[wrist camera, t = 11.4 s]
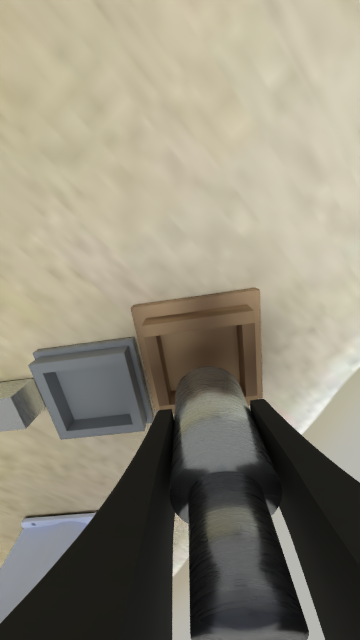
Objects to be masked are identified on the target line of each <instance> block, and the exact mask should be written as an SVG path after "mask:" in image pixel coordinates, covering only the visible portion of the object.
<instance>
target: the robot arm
mask: <svg viewBox="0 0 360 640" xmlns="http://www.w3.org/2000/svg"><path fill="white" fill-rule="evenodd" d="M250 411H251V414H252V416H253V419H254V421H255V423H256V426H257V428H258V431H259V433H260V435H261V438H262V440H263V443H264V445H265V447H266V450H267V452H268V455H269V457H270V459H271V462H272V464H273V466H274V469H275V471H276V474H277V476H278V478H279V481H280V483H281V486H282V500H281V502H280V505H279V507H280V510H281V512H282V515H283V517H284V520H285V522H286V525H287V527H288V530H289V532H290V535H291V538H292V541H293V544H294V546H295V550H296V552H297V555H298V558H299V561H300V564H301V567H302V570H303V573H304V576H305V579H306V582H307V585H308V588H309V591H310V594H311V597H312V600H313V603H314V606H315V609H316V612H317V615H318V618H319V622H320V625H321V628H322V631H323V634H324V637H325V640H360V483H359V482H358V481H357V480H355V479H354V478H353V477H351V476H350V475H349V474H347V473H346V472H345V471H343V470H342V469H341V468H340V467H338V466H337V465H336V464H335V463H333V462H332V461H331V460H330V459H328V458H327V457H326V456H325V455H324V454H323V453H321V452H320V451H319V450H318V449H316V448H315V447H314V446H313V445H312V444H311V443H310V442H308V441H307V440H306V439H305V438H304V437H303V436H302V435H301V434H300V433H298V432H297V431H296V430H295V429H294V428H293V427H292V426H291V425H290V424H289V423H288V422H287V421H286V420H285V419H284V418H283V417H281V416H280V415H279V414H278V413H277V412H276V411H275V410H274V409H273V408H272V407H271V405H270V404H269V403H268V402H267V401H266V400H264V399H257V400H250ZM173 428H174V418H173V413H172V409H165V410H159V411H158V412H157V414H156V416H155V418H154V420H153V423H152V425H151V427H150V429H149V431H148V433H147V435H146V437H145V438H144V440H143V442H142V444H141V446H140V448H139V449H138V451H137V453H136V455H135V456H134V458H133V460H132V461H131V463H130V465H129V466H128V468H127V469H126V471H125V473H124V474H123V476H122V477H121V479H120V480H119V482H118V483H117V485H116V486H115V488H114V489H113V491H112V492H111V494H110V495H109V496H108V498H107V499H106V501H105V502H104V503H103V505H102V506H101V507H100V509H99V510H98V511H97V513H87V514H74V515H61V516H49V517H36V518H25V519H23V521H22V523H21V526H22V527H23V530H22V532H21V534H20V535H19V537H18V539H17V540H16V542H15V544H14V546H13V547H12V549H11V551H10V553H9V554H8V556H7V558H6V559H5V561H4V563H3V565H2V566H1V568H0V640H172V568H173V531H174V518H175V511H174V510H173V508H172V506H171V502H170V479H171V462H172V445H173Z"/></svg>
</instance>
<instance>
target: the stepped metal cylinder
mask: <svg viewBox="0 0 360 640" xmlns="http://www.w3.org/2000/svg"><path fill="white" fill-rule="evenodd" d="M281 500H282V486H281V483H280V481H279V478H278V476H277V474H276V471H275V469H274V466H273V464H272V462H271V459H270V457H269V455H268V452H267V450H266V447H265V445H264V443H263V440H262V438H261V435H260V433H259V431H258V428H257V426H256V423H255V421H254V419H253V416H252V414H251V411H250V409H249V407H248V404H247V402H246V399H245V397H244V395H243V392H242V390H241V388H240V385H239V383H238V381H237V379H236V378H235V377H234V376H233V375H232V374H231V373H230V372H228V371H226V370H224V369H222V368H219V367H213V366H205V367H199V368H196V369H193V370H191V371H190V372H188V373H187V374H185V375H184V376H183V377H182V378H181V380H180V381H179V383H178V385H177V388H176V395H175V412H174V428H173V445H172V462H171V479H170V502H171V506H172V508H173V510H174V511H175V513H176V514H177V515H178V516H179V517H180V518H181V519H182V520H184V521H185V522H187V523H188V524H189V571H190V572H189V574H190V575H189V577H190V634H191V639H192V640H307V639H308V636H309V630H308V627H307V624H306V621H305V618H304V615H303V612H302V609H301V606H300V603H299V600H298V597H297V594H296V590H295V588H294V584H293V582H292V579H291V575H290V572H289V569H288V567H287V563H286V560H285V557H284V554H283V551H282V548H281V545H280V542H279V539H278V536H277V533H276V530H275V527H274V524H273V521H272V518H271V515H272V514H274V512H275V511H276V510H277V508H278V507H279V505H280V502H281Z"/></svg>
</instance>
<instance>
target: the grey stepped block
mask: <svg viewBox="0 0 360 640" xmlns="http://www.w3.org/2000/svg"><path fill="white" fill-rule="evenodd" d="M45 407H46V406H45V404H44V402H43V400H42V397H41V395H40V393H39V390H38V388H37V386H36V384H35V381H34V379H33V378H31V379H23V380H15V381H7V382H0V432H1V431H10V430H19V429H26V428H27V427H28V426H29V425H30V424H31V423H32V421H33V420H34V419H35V418H36V417H37V416H38V415H39V414H40V412H41V411H42V410H43V409H44V408H45Z"/></svg>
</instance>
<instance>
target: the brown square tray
mask: <svg viewBox="0 0 360 640" xmlns="http://www.w3.org/2000/svg"><path fill="white" fill-rule="evenodd" d="M131 312H132V316H133V320H134V324H135V329H136V333H137V337H138V342H139V346H140V350H141V354H142V359H143V363H144V367H145V372H146V376H147V380H148V384H149V389H150V393H151V397H152V401H153V406H154V410H159V409H160V410H165V409H172V413H174V412H175V395H176V388H177V385H178V383H179V381H180V380H181V378H182V377H183V376H184V375H185V374H187V373H188V372H190V371H191V370H193V369H196V368H199V367H205V366H213V367H219V368H222V369H224V370H226V371H228V372H230V373H231V374H232V375H233V376H234V377H235V378H236V379H237V381H238V383H239V385H240V388H241V390H242V392H243V395H244V397H245V399H246V402H247V404H248V405H250V400H257V399H260V398H262V360H261V322H260V290H259V289H257V288H251V289H244V290H237V291H230V292H223V293H216V294H209V295H202V296H195V297H188V298H181V299H174V300H167V301H160V302H153V303H146V304H139V305H133V306H132V307H131Z"/></svg>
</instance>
